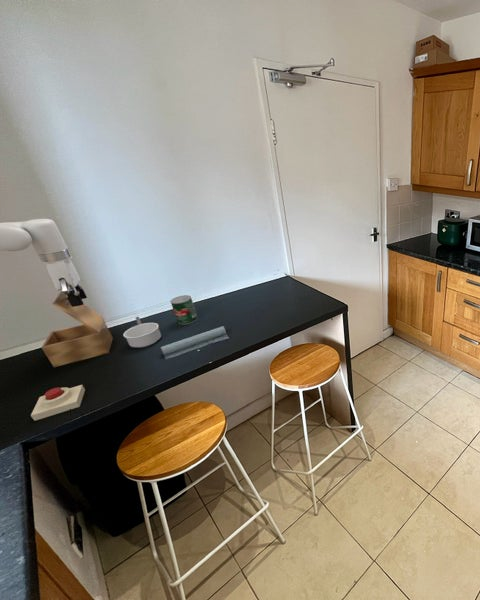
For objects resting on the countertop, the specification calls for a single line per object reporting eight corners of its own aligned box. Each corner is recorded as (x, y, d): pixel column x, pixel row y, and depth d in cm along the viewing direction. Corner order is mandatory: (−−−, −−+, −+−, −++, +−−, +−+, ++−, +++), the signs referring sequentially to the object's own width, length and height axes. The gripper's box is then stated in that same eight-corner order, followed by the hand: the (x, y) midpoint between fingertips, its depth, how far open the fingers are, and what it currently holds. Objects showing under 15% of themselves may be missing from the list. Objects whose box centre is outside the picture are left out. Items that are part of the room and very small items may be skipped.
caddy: (53, 367, 114) (41, 347, 110) (62, 350, 124) (51, 331, 120) (108, 353, 122) (99, 334, 118) (112, 337, 131) (103, 319, 127)
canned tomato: (177, 326, 139) (169, 304, 134) (178, 318, 145) (171, 297, 140) (198, 322, 143) (190, 300, 138) (198, 314, 149) (191, 293, 144)
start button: (45, 401, 94) (42, 397, 94) (49, 394, 97) (46, 390, 96) (62, 397, 96) (59, 392, 95) (65, 390, 99) (62, 385, 98)
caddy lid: (52, 303, 107) (66, 295, 109) (61, 290, 117) (74, 283, 118) (97, 333, 118) (110, 325, 119) (102, 319, 127) (114, 312, 128)
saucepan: (157, 323, 142) (153, 312, 139) (165, 341, 129) (160, 330, 126) (125, 332, 135) (120, 321, 132) (130, 353, 122) (124, 341, 119)
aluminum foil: (224, 331, 136) (222, 324, 134) (229, 337, 131) (227, 331, 130) (162, 353, 122) (159, 345, 120) (165, 360, 118) (162, 353, 116)
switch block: (34, 420, 92) (27, 411, 91) (43, 402, 99) (36, 392, 97) (79, 406, 97) (73, 397, 96) (85, 389, 104) (79, 380, 102)
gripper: (47, 251, 112) (71, 296, 121) (32, 265, 100) (60, 314, 108) (75, 247, 116) (96, 291, 124) (64, 260, 103) (89, 308, 112)
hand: (79, 301), depth 116 cm, fingers closed on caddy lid, 5 cm apart
